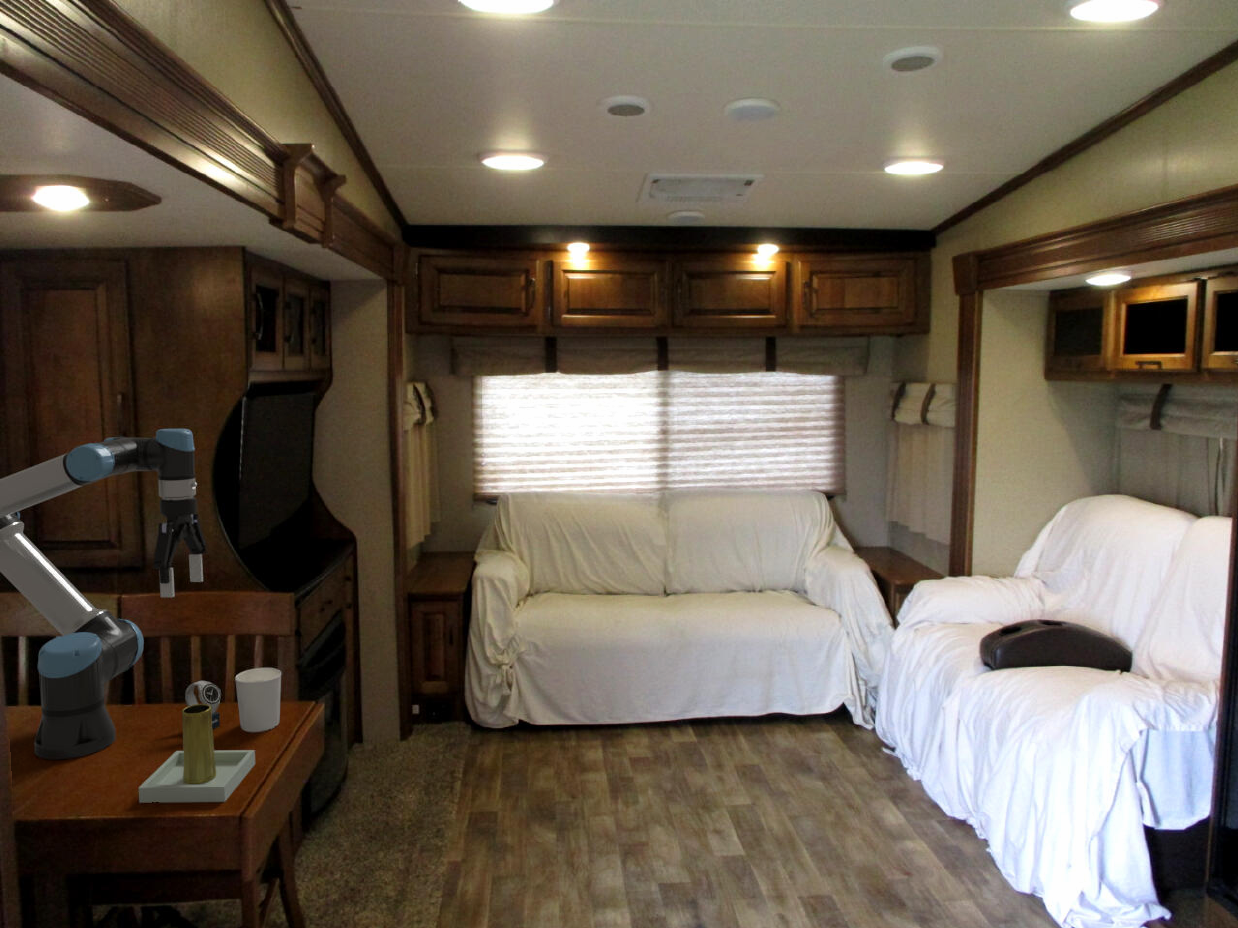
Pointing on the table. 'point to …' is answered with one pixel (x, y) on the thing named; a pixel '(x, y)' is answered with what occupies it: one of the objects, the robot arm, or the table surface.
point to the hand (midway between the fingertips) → (182, 589)
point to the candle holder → (259, 698)
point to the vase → (198, 744)
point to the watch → (205, 698)
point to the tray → (172, 788)
